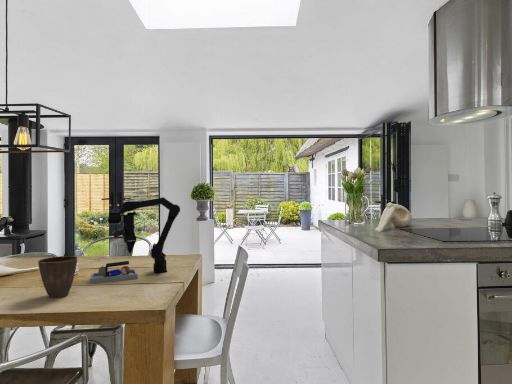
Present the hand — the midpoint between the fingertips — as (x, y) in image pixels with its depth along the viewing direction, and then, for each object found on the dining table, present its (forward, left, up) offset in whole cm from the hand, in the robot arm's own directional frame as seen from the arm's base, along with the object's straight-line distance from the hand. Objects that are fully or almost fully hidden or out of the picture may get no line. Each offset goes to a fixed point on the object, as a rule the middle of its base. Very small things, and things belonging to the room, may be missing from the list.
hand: (129, 251), depth 186 cm
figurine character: (+8, +8, -11) cm, 16 cm away
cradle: (+8, +8, -12) cm, 16 cm away
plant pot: (+31, +29, -12) cm, 44 cm away
